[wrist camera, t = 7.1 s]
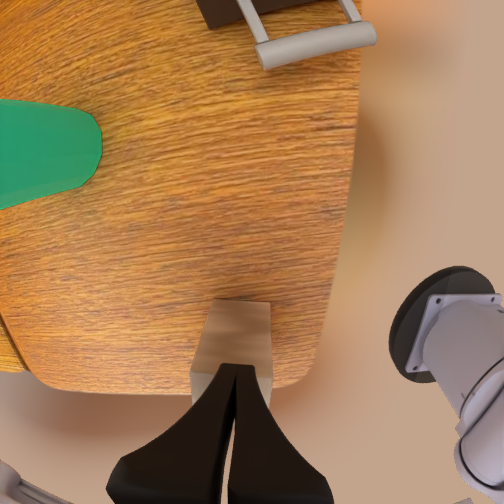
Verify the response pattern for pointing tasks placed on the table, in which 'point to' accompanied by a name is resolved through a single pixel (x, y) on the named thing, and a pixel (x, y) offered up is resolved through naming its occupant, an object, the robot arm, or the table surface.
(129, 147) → the table surface
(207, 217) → the table surface
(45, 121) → the candle
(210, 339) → the block
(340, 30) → the drawer
